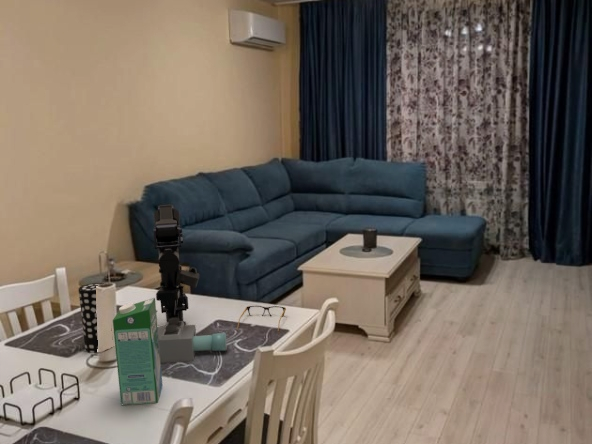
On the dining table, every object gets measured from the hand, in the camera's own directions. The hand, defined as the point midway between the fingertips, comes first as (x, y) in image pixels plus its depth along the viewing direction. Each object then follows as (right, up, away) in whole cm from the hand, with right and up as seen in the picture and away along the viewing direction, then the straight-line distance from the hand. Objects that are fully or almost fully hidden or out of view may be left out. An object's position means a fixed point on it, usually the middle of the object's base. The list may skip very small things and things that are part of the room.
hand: (173, 313), depth 172 cm
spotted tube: (-25, -12, +7) cm, 28 cm away
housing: (+1, -12, -1) cm, 12 cm away
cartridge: (+6, -12, 0) cm, 13 cm away
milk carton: (-3, -17, -25) cm, 31 cm away
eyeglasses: (+26, -8, +23) cm, 35 cm away
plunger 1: (0, -3, +1) cm, 3 cm away
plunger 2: (+1, -4, -5) cm, 7 cm away
